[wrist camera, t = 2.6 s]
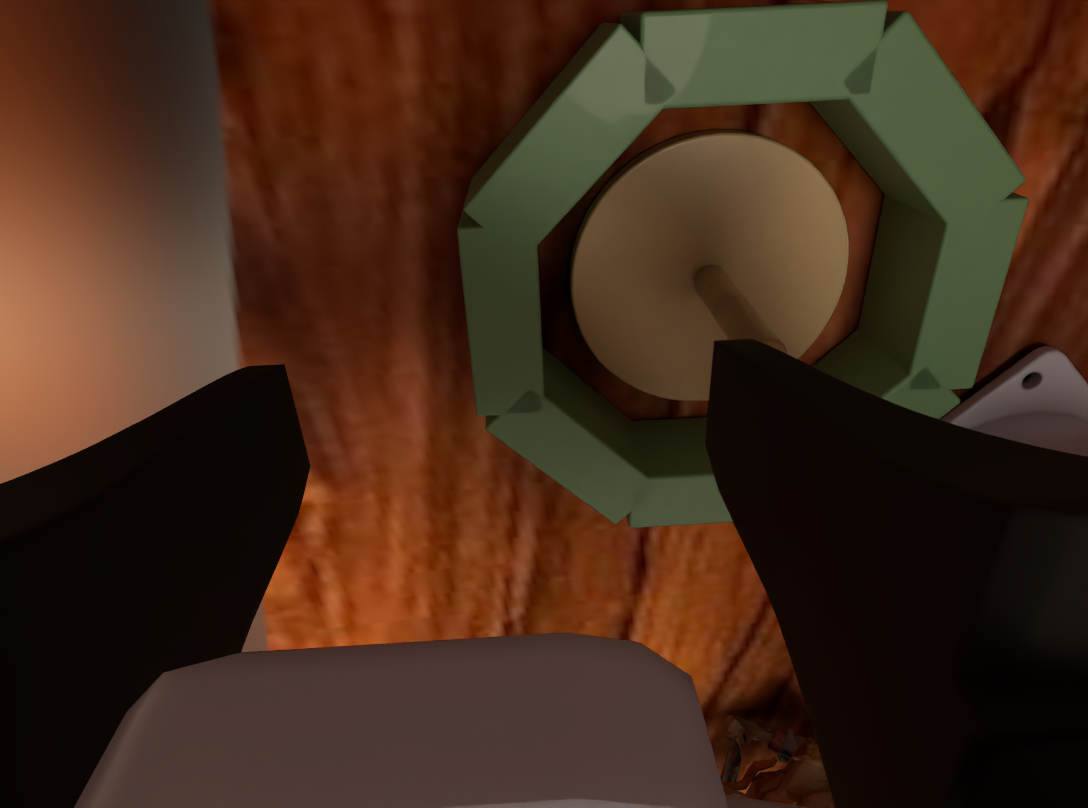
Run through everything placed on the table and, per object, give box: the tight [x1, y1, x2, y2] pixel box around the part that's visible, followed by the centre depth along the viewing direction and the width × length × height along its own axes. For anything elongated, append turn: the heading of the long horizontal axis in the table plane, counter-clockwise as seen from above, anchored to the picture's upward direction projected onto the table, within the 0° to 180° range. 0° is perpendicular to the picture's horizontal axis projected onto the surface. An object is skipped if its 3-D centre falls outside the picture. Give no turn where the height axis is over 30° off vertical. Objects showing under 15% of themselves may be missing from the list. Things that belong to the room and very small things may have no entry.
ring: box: [457, 0, 1028, 528], centre depth 16 cm, size 12×12×3 cm
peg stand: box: [569, 129, 849, 401], centre depth 15 cm, size 7×7×5 cm
